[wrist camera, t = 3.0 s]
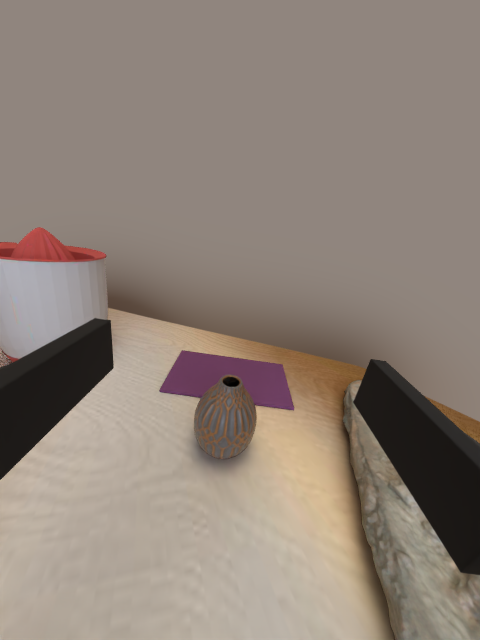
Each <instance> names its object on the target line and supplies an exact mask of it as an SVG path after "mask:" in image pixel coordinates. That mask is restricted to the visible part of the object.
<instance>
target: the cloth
mask: <svg viewBox="0 0 480 640" xmlns="http://www.w3.org/2000/svg"><path fill="white" fill-rule="evenodd" d="M229 374H230V375H235V376H238V377H239V378H240V379H241V380H242V382H243V385H244V387H245V389H246V390H247V391H248V393H249V394H250V396H251V397H252V399H253V402H254V404H255V405H260V406H267V407H274V408H282V409H289V410H294V406H293V402H292V399H291V395H290V391H289V388H288V384H287V380H286V376H285V373H284V369H283V365H282V364H275V363H268V362H261V361H254V360H247V359H240V358H232V357H225V356H218V355H211V354H204V353H197V352H190V351H183V350H182V351H181V353H180V355H179V357H178V358H177V360H176V362H175V364H174V365H173V367H172V369H171V371H170V372H169V374H168V376H167V378H166V379H165V381H164V383H163V385H162V387H161V388H160V392H164V393H172V394H179V395H186V396H194V397H202V396H203V395H204V393H205V392H206V391H207V390H208V389H209V388H211V387H212V386H214V385H215V384H216V383H217V382H218V381H219V380H220V378H221V377H222V376H224V375H229Z"/></svg>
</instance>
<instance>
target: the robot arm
mask: <svg viewBox="0 0 480 640" xmlns="http://www.w3.org/2000/svg"><path fill="white" fill-rule="evenodd" d="M112 369H113V352H112V335H111V320H105V319H98V318H94V319H92V320H90V321H89V322H87V323H85V324H83V325H81V326H79V327H77V328H76V329H74V330H72V331H70V332H68V333H66V334H65V335H63V336H61V337H59V338H57V339H55V340H53V341H52V342H50V343H48V344H46V345H44V346H42V347H41V348H39V349H37V350H35V351H33V352H31V353H29V354H28V355H26V356H24V357H22V358H20V359H18V360H17V361H15V362H13V363H11V364H9V365H6V366H3V367H0V480H1V479H2V478H3V477H4V476H5V475H6V474H7V473H8V472H9V471H10V470H11V469H12V468H13V467H14V466H15V465H16V464H17V463H18V462H19V461H20V460H21V459H22V458H23V457H24V456H25V455H26V454H27V453H28V452H29V451H30V450H31V449H32V448H33V447H34V446H35V445H36V444H37V443H38V442H39V441H40V440H41V439H42V438H43V437H44V436H45V435H46V434H47V433H48V432H49V431H50V430H51V429H52V428H53V427H54V426H55V425H56V424H57V423H58V422H59V421H60V420H61V419H62V418H63V417H64V416H65V415H66V414H67V413H68V412H69V411H70V410H71V409H72V408H73V407H74V406H76V405H77V404H78V403H79V402H80V401H81V400H82V399H83V398H84V397H85V396H86V395H87V394H88V393H89V392H90V391H91V390H92V389H93V388H94V387H95V386H96V385H97V384H98V383H99V382H100V381H101V380H102V379H103V378H104V377H105V376H106V375H107V374H108V373H109V372H110V371H111V370H112ZM353 403H354V405H355V406H356V408H357V409H358V411H359V413H360V414H361V416H362V417H363V419H364V420H365V422H366V424H367V425H368V427H369V428H370V430H371V432H372V433H373V435H374V436H375V438H376V439H377V441H378V443H379V444H380V446H381V447H382V449H383V451H384V452H385V454H386V455H387V457H388V458H389V460H390V462H391V463H392V465H393V466H394V468H395V469H396V471H397V473H398V474H399V476H400V477H401V479H402V481H403V482H404V484H405V485H406V487H407V488H408V490H409V492H410V493H411V495H412V496H413V498H414V500H415V501H416V503H417V504H418V506H419V507H420V509H421V511H422V512H423V514H424V515H425V517H426V519H427V520H428V522H429V523H430V525H431V526H432V528H433V530H434V531H435V533H436V534H437V536H438V537H439V539H440V541H441V542H442V544H443V545H444V547H445V549H446V550H447V552H448V553H449V555H450V556H451V558H452V560H453V561H454V563H455V564H456V566H457V568H458V569H459V571H460V572H461V573H466V574H474V575H480V444H479V443H478V442H477V441H476V440H474V439H473V438H471V437H470V436H468V435H467V434H465V433H464V432H463V431H462V430H460V429H459V428H458V427H457V426H456V425H455V424H454V423H453V422H452V421H451V420H450V419H448V418H447V417H446V416H445V415H444V414H443V413H442V412H441V411H440V410H439V409H437V408H436V407H435V406H434V405H433V404H432V403H431V402H430V401H429V400H428V399H426V398H425V397H424V396H423V395H422V394H421V393H420V392H419V391H418V390H417V389H415V388H414V387H413V386H412V385H411V384H410V383H409V382H408V381H407V380H406V379H405V378H403V377H402V376H401V375H400V374H399V373H398V372H397V371H396V370H395V369H394V368H392V367H391V366H390V365H389V364H388V363H387V362H386V361H380V360H373V359H371V360H370V363H369V365H368V367H367V370H366V372H365V375H364V377H363V379H362V382H361V384H360V387H359V389H358V392H357V394H356V397H355V399H354V401H353Z"/></svg>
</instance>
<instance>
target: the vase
mask: <svg viewBox="0 0 480 640" xmlns="http://www.w3.org/2000/svg"><path fill="white" fill-rule="evenodd" d="M255 427H256V409H255V404H254V402H253V399H252V397H251V396H250V394H249V393H248V391H247V390H246V389H245V387H244V385H243V382H242V380H241V379H240V378H239V377H238V376H235V375H230V374H229V375H224V376H222V377H221V378H220V380H219V381H218V382H217V383H216V384H215V385H214V386H212V387H211V388H209V389H208V390H207V391H206V392H205V393H204V395H203V396H202V397H201V399H200V401H199V403H198V405H197V408H196V412H195V418H194V429H195V434H196V438H197V440H198V442H199V444H200V446H201V447H202V449H203V450H204V451H205V452H207V453H208V454H209V455H211V456H213V457H216V458H221V459H226V458H231V457H234V456H236V455H238V454H240V453H241V452H242V451H243V450H244V449H245V448H246V447H247V446H248V444H249V443H250V441H251V439H252V437H253V434H254V431H255Z"/></svg>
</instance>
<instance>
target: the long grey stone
mask: <svg viewBox="0 0 480 640" xmlns="http://www.w3.org/2000/svg"><path fill="white" fill-rule="evenodd" d="M361 382H362V381H361V380H357V381H354V382H352V383H350V384H349V385H348V387H347V388H346V390H345V391H344V392H345V397H344V399H343V402H344V406H345V410H344V413H345V414H344V418H343V423H344V424H345V425H344V426H345V428H346V429H347V432H348V433H349V439H350V447H351V451H350V460H351V461H350V464H351V466H352V467H353V469H354V476H355V477H356V481H357V484H358V488H359V496H360V500H361V506H362V507H361V509H362V510H361V515H362V526H363V528H364V531H365V534H366V538H367V542H368V544H369V545H370V546H371V548H372V554H373V561H374V564H375V568H376V572H377V574H378V576H379V578H380V582H381V585H382V589H383V591H384V594H385V596H386V599H387V603H388V608H389V618H390V624H391V628H392V630H393V632H394V637H395V640H480V575H474V574H466V573H461V572H460V571H459V569H458V568H457V566H456V564H455V563H454V561H453V560H452V558H451V556H450V555H449V553H448V552H447V550H446V549H445V547H444V545H443V544H442V542H441V541H440V539H439V537H438V536H437V534H436V533H435V531H434V530H433V528H432V526H431V525H430V523H429V522H428V520H427V519H426V517H425V515H424V514H423V512H422V511H421V509H420V507H419V506H418V504H417V503H416V501H415V500H414V498H413V496H412V495H411V493H410V492H409V490H408V488H407V487H406V485H405V484H404V482H403V481H402V479H401V477H400V476H399V474H398V473H397V471H396V469H395V468H394V466H393V465H392V463H391V462H390V460H389V458H388V457H387V455H386V454H385V452H384V451H383V449H382V447H381V446H380V444H379V443H378V441H377V439H376V438H375V436H374V435H373V433H372V432H371V430H370V428H369V427H368V425H367V424H366V422H365V420H364V419H363V417H362V416H361V414H360V413H359V411H358V409H357V408H356V406H355V405H354V403H353V401H354V399H355V397H356V394H357V392H358V389H359V387H360V384H361Z"/></svg>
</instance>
